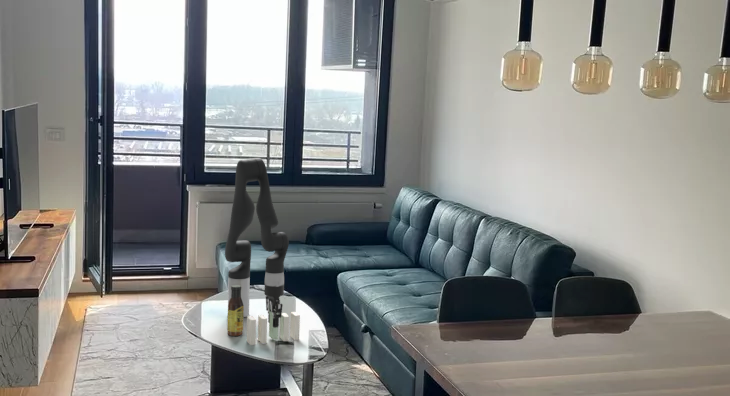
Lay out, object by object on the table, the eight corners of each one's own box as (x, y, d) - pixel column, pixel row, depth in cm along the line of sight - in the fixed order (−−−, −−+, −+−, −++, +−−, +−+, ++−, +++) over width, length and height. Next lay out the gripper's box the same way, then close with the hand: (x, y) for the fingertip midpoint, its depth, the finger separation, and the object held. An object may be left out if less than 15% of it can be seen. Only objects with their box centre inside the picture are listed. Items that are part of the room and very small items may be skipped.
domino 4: (279, 337, 277) (280, 313, 276) (284, 336, 278) (285, 312, 277) (283, 341, 273) (284, 316, 271) (288, 340, 273) (289, 316, 272)
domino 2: (257, 339, 273) (258, 315, 272) (262, 339, 274) (263, 314, 273) (261, 344, 269) (262, 319, 267) (266, 343, 270) (267, 318, 268)
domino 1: (246, 341, 271) (247, 316, 270) (251, 340, 272) (252, 316, 271) (250, 345, 267) (250, 320, 265) (255, 344, 268) (255, 319, 266)
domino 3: (268, 335, 275) (269, 311, 274) (273, 335, 276) (274, 311, 274) (272, 339, 270) (273, 315, 269) (277, 339, 271) (278, 314, 270)
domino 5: (290, 336, 279) (290, 312, 278) (294, 335, 280) (295, 311, 279) (294, 340, 275) (295, 315, 273) (299, 339, 275) (299, 315, 274)
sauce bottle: (239, 337, 275) (240, 288, 272) (224, 335, 276) (225, 287, 274) (245, 332, 281) (246, 284, 279) (231, 330, 283) (231, 283, 280)
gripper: (259, 279, 275) (258, 320, 277) (270, 288, 262) (269, 331, 264) (277, 277, 278) (276, 318, 280) (289, 286, 265) (288, 329, 268)
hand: (273, 324), depth 272 cm, fingers closed on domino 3, 5 cm apart
